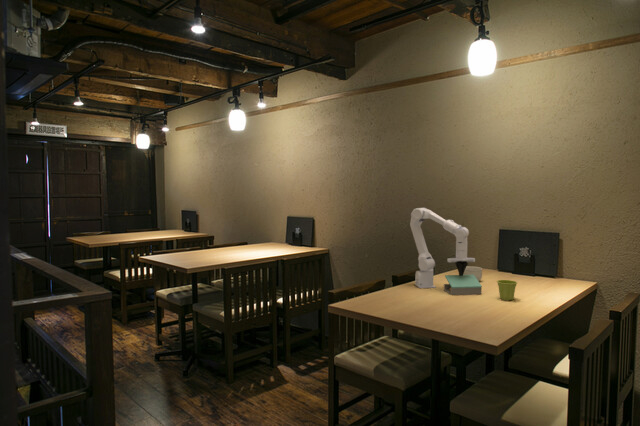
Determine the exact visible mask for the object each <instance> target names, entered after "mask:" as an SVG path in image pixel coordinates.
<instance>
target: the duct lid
mask: <svg viewBox="0 0 640 426" xmlns="http://www.w3.org/2000/svg"><path fill="white" fill-rule="evenodd" d="M444 278H445V279H446V281H447V283H448V284H450V286H451V288H480V287H481V288H482V286H483V285H482V283H480V280H479V281H478V280H477V278H476V277H475V275H463V276H460V275H459V274H447V275H446V274H445V275H444Z"/></svg>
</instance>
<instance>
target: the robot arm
mask: <svg viewBox="0 0 640 426" xmlns="http://www.w3.org/2000/svg"><path fill="white" fill-rule="evenodd" d="M426 219H427V220H429V219H430V220H432V221H433V222H435V223H438V224H439V225H441V226H442V227H443V229H444V230H445V231H447V232H449V233H450V234H452V235H454V236H455V257H449V258H448V257H447V260H446V261H447V263H449V264H450V263H454V264H455V265H456V268H457V271H458V275H460V276H463V274H464V271H465V268H466V267H467V266H468V264H469V263H475V262H476V258H475V257H468V236H469V234H470V231H469V229H468V228H467V227H466V226H462V225H461V224H458V223H457V222H455V221H454V220H453V219H444V218H443V217H442V216H440V215H438V214H437V213H435V212H434V211H432V210H431V209H428V208H426V207H417V208H413V210H412V211H411V213H410V223H409V226H410V229H411V233H412V235H413V240H414V243H415V246H416V250H417V253H418V258H417V261H418V268H419V270H416V271H415V276H414V277H415V278H414V279H415V281H414V282H415V284H414V285H415V286H416V287H417V288H420V289H429V288H430V289H431V288H432V289H433V288H436V285H434V268H435V267H436V262H435V259H434V258H433V257H432V254H431V253H430V252H429V250H428V247H427V243H426V239H425V236H424V233H423V229H422V227H421V226H422V223H424V221H425V220H426Z"/></svg>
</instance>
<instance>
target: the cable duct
mask: <svg viewBox="0 0 640 426" xmlns="http://www.w3.org/2000/svg"><path fill="white" fill-rule="evenodd" d="M482 290H483V289H482V287H480V288H451V286H450V284H449V283H443V291H444V292H445V293H447V294H449V295H451V296H464V295H465V296H467V295H468V296H469V295H470V296H471V295H482Z"/></svg>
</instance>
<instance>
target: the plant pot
mask: <svg viewBox="0 0 640 426" xmlns="http://www.w3.org/2000/svg"><path fill="white" fill-rule="evenodd" d="M496 283H497V286H498V291H499V293H498V294H499V299H500V300H501V299H502V300H504V301H510V300H511V301H513V300H514V298H515V292H516V287H517V284H518V282H517V281H515V280H510V279H498V280H496Z"/></svg>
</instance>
